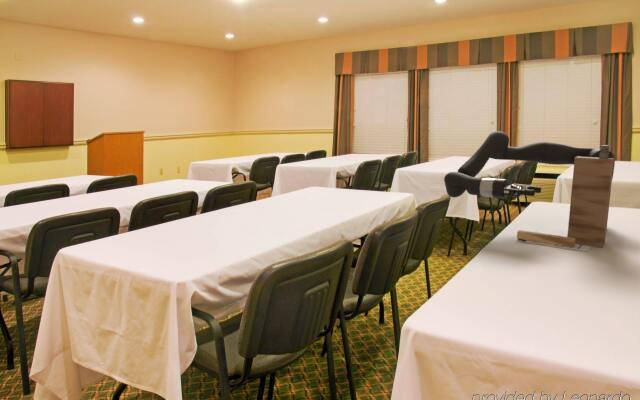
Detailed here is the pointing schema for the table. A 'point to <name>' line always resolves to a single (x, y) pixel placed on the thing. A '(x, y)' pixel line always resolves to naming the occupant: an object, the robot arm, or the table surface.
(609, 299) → the table surface
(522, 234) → the block
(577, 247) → the letter
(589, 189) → the brown piece
